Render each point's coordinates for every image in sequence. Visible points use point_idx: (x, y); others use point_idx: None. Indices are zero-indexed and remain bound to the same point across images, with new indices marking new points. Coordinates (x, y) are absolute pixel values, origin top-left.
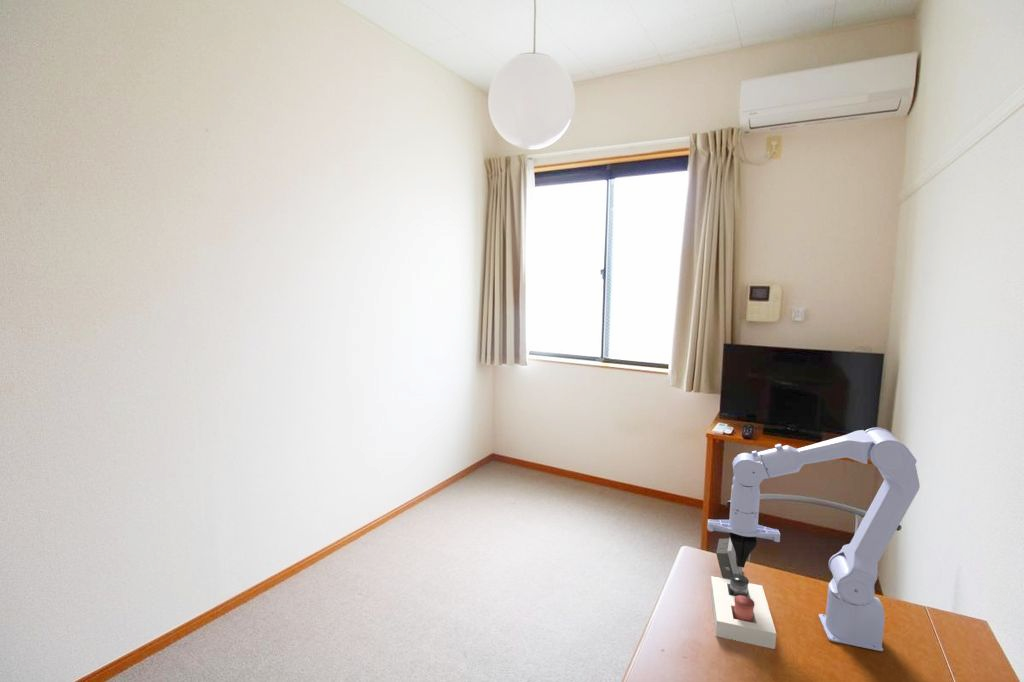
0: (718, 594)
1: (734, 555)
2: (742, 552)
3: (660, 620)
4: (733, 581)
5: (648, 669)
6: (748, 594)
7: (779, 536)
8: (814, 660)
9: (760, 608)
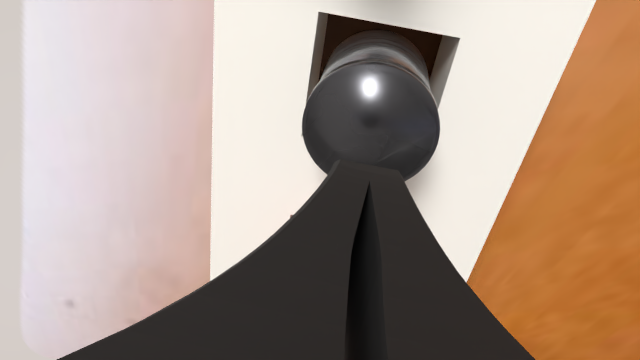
0: (240, 137)
1: None
2: (351, 351)
3: (34, 194)
4: (315, 160)
5: (50, 352)
6: (443, 77)
7: None
8: (551, 328)
9: (442, 227)
